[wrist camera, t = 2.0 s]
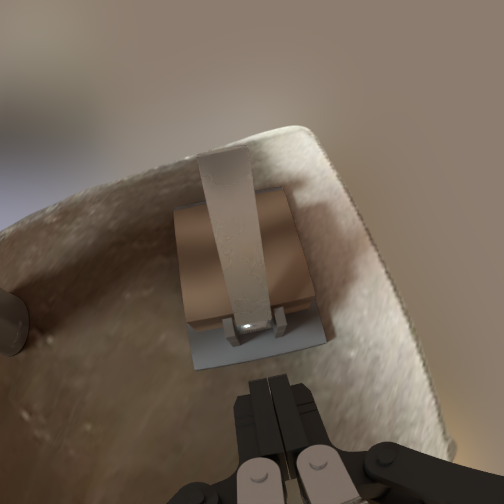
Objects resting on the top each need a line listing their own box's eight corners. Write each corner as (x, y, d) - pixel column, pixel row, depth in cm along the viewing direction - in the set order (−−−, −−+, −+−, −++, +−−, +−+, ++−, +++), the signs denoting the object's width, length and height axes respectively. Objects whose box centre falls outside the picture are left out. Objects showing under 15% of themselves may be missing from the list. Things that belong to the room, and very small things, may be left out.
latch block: (324, 344, 32) (344, 329, 24) (197, 370, 31) (175, 365, 23) (280, 193, 40) (283, 147, 32) (176, 214, 39) (157, 172, 31)
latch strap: (271, 320, 27) (273, 330, 26) (237, 327, 27) (239, 337, 26) (245, 143, 18) (248, 148, 17) (196, 153, 18) (196, 158, 17)
